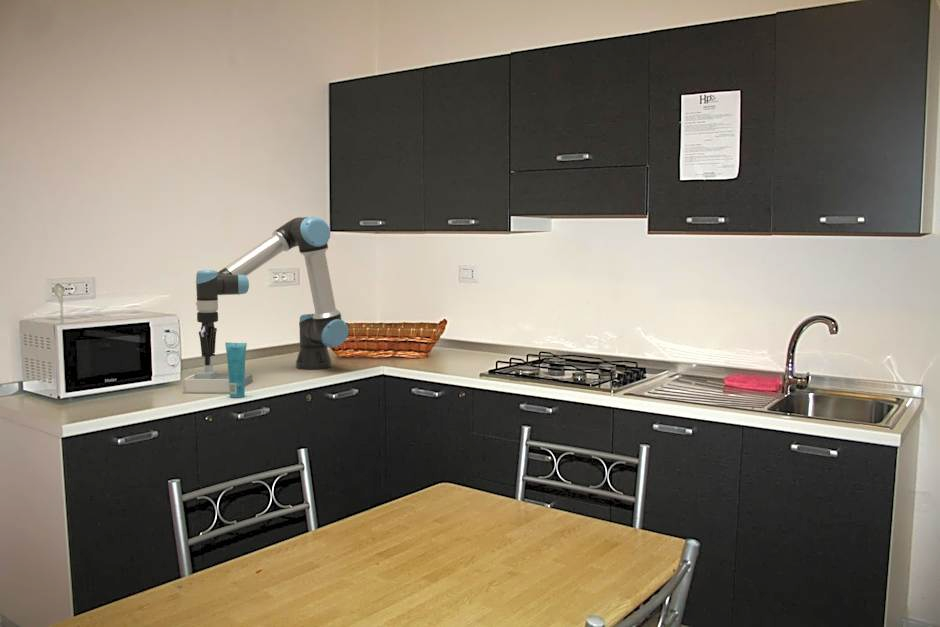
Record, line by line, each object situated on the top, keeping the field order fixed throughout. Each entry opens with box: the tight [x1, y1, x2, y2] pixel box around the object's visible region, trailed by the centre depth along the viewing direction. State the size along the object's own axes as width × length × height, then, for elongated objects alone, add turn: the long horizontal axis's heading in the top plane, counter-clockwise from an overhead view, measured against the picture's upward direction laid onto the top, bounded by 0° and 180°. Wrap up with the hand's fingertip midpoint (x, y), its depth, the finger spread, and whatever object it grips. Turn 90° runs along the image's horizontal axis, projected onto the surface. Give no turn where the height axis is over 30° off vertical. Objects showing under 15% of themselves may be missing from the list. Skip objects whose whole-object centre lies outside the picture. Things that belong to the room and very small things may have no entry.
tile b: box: [194, 370, 218, 379], centre depth 303 cm, size 6×6×2 cm
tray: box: [182, 373, 230, 395], centre depth 297 cm, size 18×11×5 cm, turn 89°
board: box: [215, 373, 253, 387], centre depth 308 cm, size 18×13×3 cm
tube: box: [225, 342, 248, 398], centre depth 285 cm, size 7×5×19 cm, turn 96°
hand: (208, 373), depth 307 cm, fingers closed
